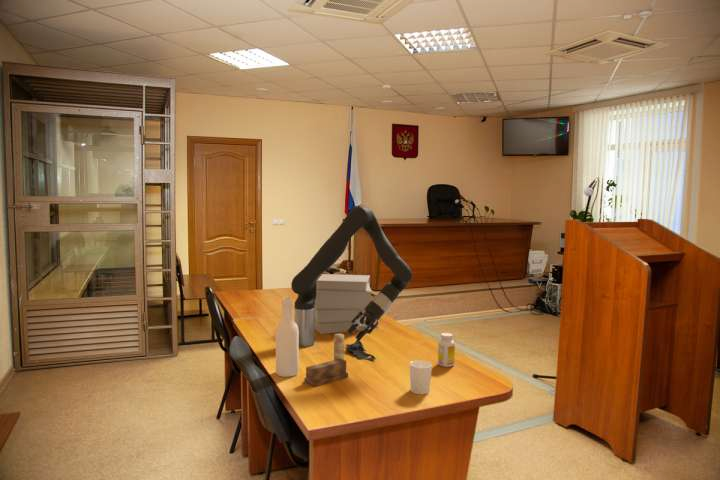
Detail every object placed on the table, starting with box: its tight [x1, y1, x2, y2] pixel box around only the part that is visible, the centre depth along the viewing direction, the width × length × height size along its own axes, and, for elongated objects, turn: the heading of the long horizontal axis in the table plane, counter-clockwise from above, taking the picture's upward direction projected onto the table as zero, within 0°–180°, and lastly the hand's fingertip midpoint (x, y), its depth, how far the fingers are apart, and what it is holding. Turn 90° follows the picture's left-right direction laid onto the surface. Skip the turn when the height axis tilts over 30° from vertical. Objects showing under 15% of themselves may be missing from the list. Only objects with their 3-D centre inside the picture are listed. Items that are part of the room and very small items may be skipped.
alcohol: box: [275, 296, 300, 378], centre depth 193 cm, size 9×9×30 cm
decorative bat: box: [345, 339, 377, 360], centre depth 222 cm, size 30×4×10 cm
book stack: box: [314, 273, 380, 335], centre depth 262 cm, size 30×35×26 cm
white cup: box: [409, 360, 433, 395], centre depth 179 cm, size 8×8×10 cm
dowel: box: [333, 333, 345, 360], centre depth 199 cm, size 4×4×14 cm
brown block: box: [303, 359, 349, 388], centre depth 189 cm, size 16×6×6 cm, turn 128°
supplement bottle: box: [437, 332, 456, 368], centre depth 206 cm, size 7×7×13 cm
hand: (352, 336), depth 201 cm, fingers open, 8 cm apart
